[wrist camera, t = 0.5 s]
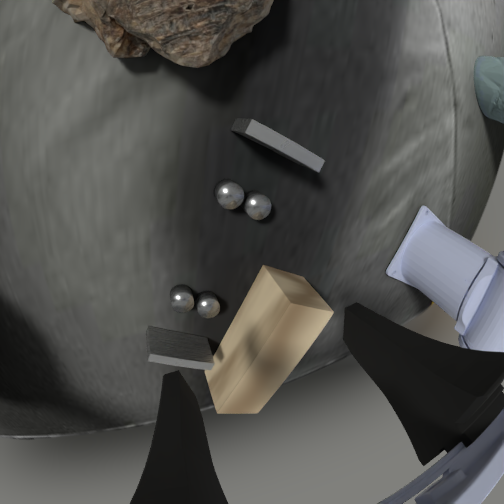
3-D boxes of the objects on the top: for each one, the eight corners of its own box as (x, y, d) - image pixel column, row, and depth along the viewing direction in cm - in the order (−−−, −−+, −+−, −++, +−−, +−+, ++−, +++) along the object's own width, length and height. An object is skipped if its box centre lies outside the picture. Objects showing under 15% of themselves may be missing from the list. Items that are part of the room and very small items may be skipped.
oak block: (302, 275, 23) (334, 312, 19) (241, 373, 27) (257, 413, 22) (262, 263, 21) (290, 302, 17) (204, 370, 25) (217, 413, 20)
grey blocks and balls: (300, 153, 18) (325, 160, 15) (203, 343, 23) (211, 370, 20) (236, 118, 16) (252, 119, 13) (145, 333, 20) (147, 361, 18)
